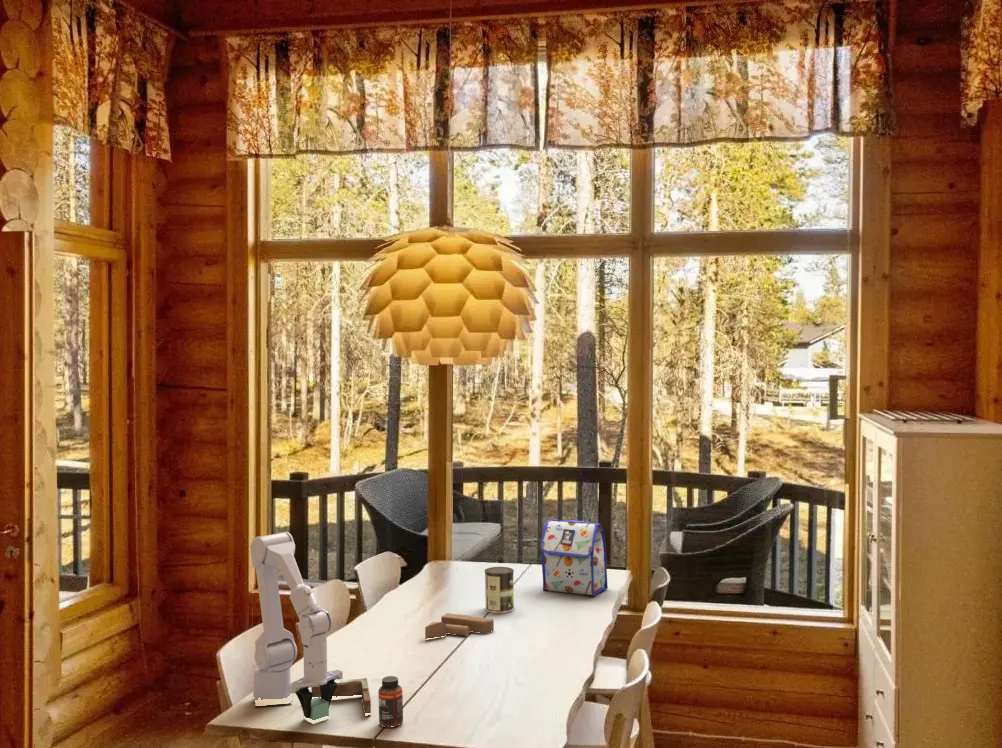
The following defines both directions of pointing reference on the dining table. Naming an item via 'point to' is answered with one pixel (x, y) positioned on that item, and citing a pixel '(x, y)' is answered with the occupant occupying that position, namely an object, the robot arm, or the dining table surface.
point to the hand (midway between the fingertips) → (316, 713)
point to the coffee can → (499, 589)
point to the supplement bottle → (390, 702)
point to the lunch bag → (573, 557)
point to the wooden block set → (458, 625)
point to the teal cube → (319, 708)
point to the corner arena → (350, 691)
